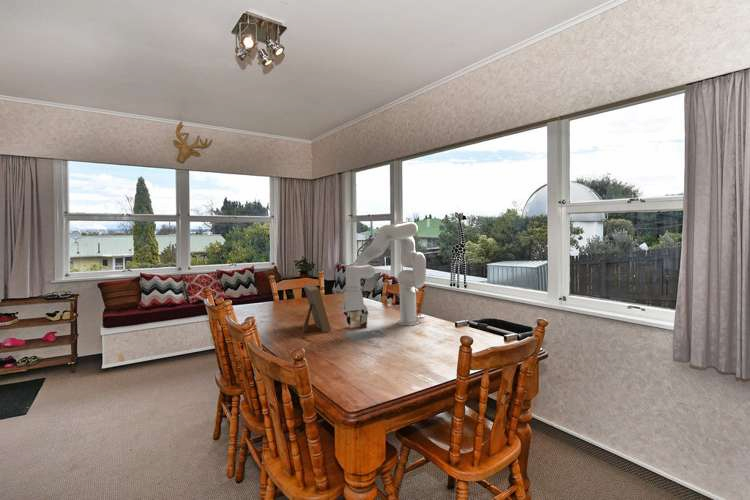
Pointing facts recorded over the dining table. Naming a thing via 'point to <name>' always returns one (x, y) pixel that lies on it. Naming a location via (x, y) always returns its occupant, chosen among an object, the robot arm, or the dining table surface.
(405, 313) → the robot arm
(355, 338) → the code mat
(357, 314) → the birch block
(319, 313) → the photo frame
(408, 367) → the dining table surface
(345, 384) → the dining table surface
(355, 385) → the dining table surface
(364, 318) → the food container
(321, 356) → the dining table surface
